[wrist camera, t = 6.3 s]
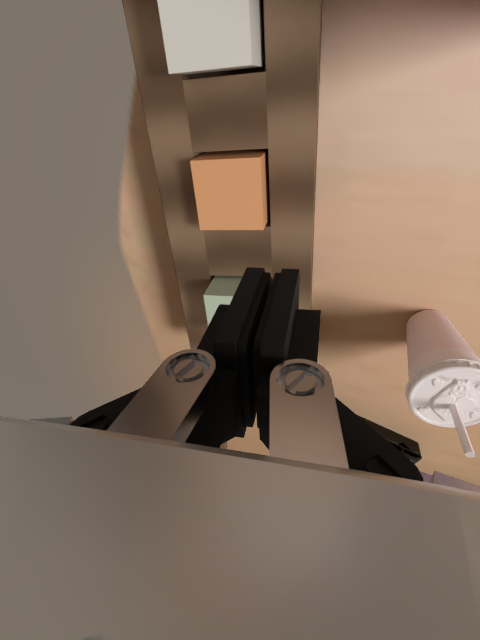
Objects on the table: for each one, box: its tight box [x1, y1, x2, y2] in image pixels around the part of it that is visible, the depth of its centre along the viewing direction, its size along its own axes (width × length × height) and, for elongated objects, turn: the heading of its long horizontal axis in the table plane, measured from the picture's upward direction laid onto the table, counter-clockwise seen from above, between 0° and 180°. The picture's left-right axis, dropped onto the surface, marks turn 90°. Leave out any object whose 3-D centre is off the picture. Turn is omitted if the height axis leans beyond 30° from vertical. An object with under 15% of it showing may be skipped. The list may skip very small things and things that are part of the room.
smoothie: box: [405, 310, 480, 457], centre depth 28 cm, size 6×6×14 cm
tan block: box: [190, 148, 270, 230], centre depth 27 cm, size 5×5×4 cm
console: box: [122, 0, 323, 349], centre depth 28 cm, size 32×12×4 cm, turn 5°
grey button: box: [157, 0, 264, 74], centre depth 21 cm, size 5×5×4 cm
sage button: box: [203, 275, 243, 325], centre depth 32 cm, size 5×5×4 cm
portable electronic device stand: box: [357, 415, 422, 464], centre depth 42 cm, size 18×3×3 cm, turn 68°
